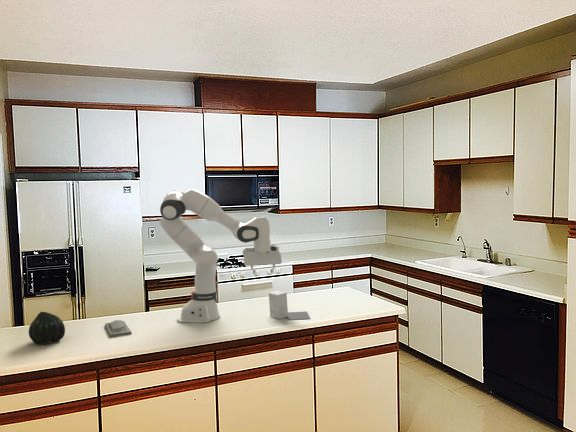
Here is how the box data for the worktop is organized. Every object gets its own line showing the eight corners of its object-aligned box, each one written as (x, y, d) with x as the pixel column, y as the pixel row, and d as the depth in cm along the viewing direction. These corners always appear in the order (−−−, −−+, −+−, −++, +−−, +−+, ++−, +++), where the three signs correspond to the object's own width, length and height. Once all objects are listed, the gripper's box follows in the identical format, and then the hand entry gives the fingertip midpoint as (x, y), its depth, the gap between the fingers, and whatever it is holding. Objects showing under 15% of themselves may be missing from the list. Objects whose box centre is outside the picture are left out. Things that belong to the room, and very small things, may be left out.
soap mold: (109, 339, 222) (109, 331, 222) (104, 327, 240) (104, 320, 239) (131, 335, 227) (131, 328, 226) (125, 324, 244) (124, 317, 244)
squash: (67, 332, 214) (61, 304, 221) (30, 340, 206) (26, 311, 213) (66, 345, 224) (61, 318, 231) (31, 354, 216) (26, 325, 223)
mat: (287, 320, 244) (287, 319, 243) (285, 313, 256) (285, 312, 256) (310, 319, 245) (310, 318, 245) (306, 311, 258) (306, 311, 258)
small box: (288, 316, 249) (286, 292, 248) (278, 319, 245) (277, 295, 244) (278, 313, 255) (277, 290, 254) (269, 316, 251) (268, 292, 250)
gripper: (242, 249, 242) (243, 275, 243) (281, 247, 244) (282, 273, 245) (242, 247, 249) (243, 272, 250) (280, 245, 250) (281, 270, 251)
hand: (263, 273), depth 247 cm, fingers open, 8 cm apart
